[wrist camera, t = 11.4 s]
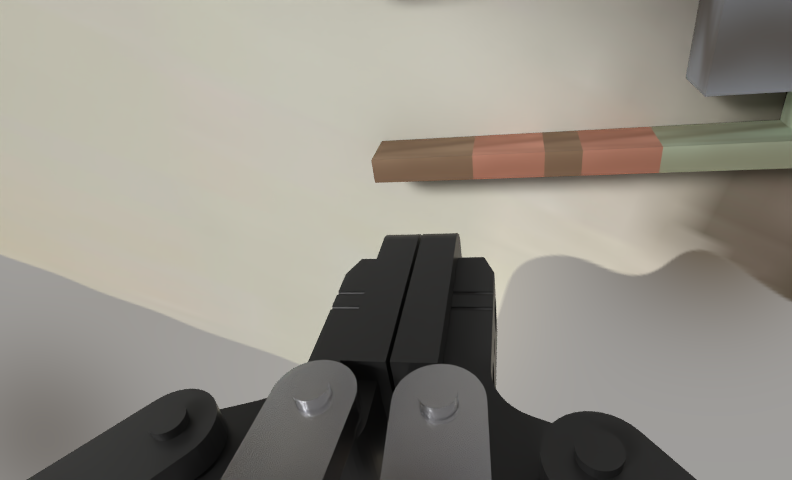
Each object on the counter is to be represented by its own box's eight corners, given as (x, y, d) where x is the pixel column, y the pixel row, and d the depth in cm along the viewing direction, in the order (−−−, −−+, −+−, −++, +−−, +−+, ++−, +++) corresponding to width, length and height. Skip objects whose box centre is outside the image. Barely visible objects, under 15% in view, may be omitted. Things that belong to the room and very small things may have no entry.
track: (350, -64, 27) (334, -62, 24) (894, -147, 21) (944, -155, 19) (385, 162, 33) (375, 182, 31) (803, 144, 28) (831, 167, 25)
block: (702, -26, 25) (728, -18, 22) (820, -39, 24) (863, -31, 21) (684, 77, 27) (704, 96, 25) (790, 70, 26) (824, 89, 23)
